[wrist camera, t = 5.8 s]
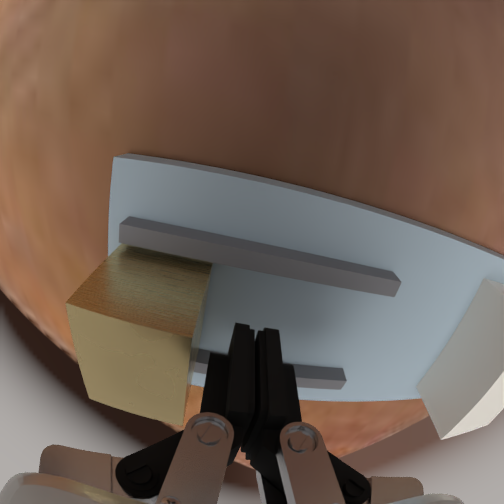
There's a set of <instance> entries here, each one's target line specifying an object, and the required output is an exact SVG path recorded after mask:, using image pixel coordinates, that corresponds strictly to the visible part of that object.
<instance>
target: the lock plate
mask: <svg viewBox="0 0 504 504" xmlns="http://www.w3.org/2000/svg"><path fill="white" fill-rule="evenodd" d="M122 243H123V244H128V245H132V246H137V247H141V248H146V249H151V250H155V251H160V252H164V253H169V254H174V255H178V256H183V257H188V258H192V259H197V260H202V261H207V262H212V263H213V266H212V271H211V277H210V282H209V288H208V294H207V300H206V306H205V312H204V318H203V324H202V331H201V337H200V344H199V349H198V354H197V358H196V363H195V368H194V372H193V377H192V382H191V384H192V385H196V386H201V387H204V384H205V378H206V373H207V367H208V361H209V355H210V352H212V353H217V354H223V355H228V350H229V346H230V342H231V338H232V334H233V329H234V325H235V322H236V323H242V324H248V325H250V329H254V330H255V339H256V335H257V332H258V330H261V331H263V329H264V328H265V327H266V328H272V329H278V330H279V333H280V342H281V351H282V360H283V364H292V365H293V366H294V370H295V376H296V383H297V390H298V397H299V399H300V400H317V401H388V400H405V399H417V398H421V396H420V394H419V392H418V390H417V388H416V386H417V384H418V383H419V382H420V381H421V379H422V378H423V377H424V375H425V374H426V373H427V371H428V370H429V369H430V367H431V366H432V365H433V363H434V362H435V360H436V359H437V357H438V356H439V355H440V353H441V352H442V350H443V349H444V347H445V346H446V344H447V343H448V341H449V339H450V338H451V336H452V335H453V333H454V332H455V330H456V328H457V327H458V325H459V323H460V322H461V320H462V318H463V316H464V315H465V313H466V311H467V309H468V308H469V306H470V304H471V302H472V300H473V298H474V296H475V294H476V293H477V291H478V289H479V287H480V285H481V282H482V280H483V278H486V279H489V280H492V281H495V282H499V283H502V284H504V255H501V254H499V253H497V252H495V251H492V250H490V249H488V248H485V247H483V246H481V245H478V244H476V243H473V242H471V241H468V240H466V239H464V238H461V237H458V236H456V235H453V234H451V233H448V232H446V231H443V230H440V229H438V228H435V227H432V226H429V225H427V224H424V223H421V222H418V221H415V220H412V219H410V218H407V217H404V216H401V215H398V214H395V213H392V212H389V211H385V210H382V209H379V208H376V207H373V206H370V205H366V204H363V203H360V202H356V201H353V200H350V199H346V198H343V197H339V196H336V195H332V194H328V193H325V192H321V191H317V190H314V189H310V188H306V187H302V186H298V185H294V184H290V183H286V182H282V181H278V180H273V179H269V178H265V177H260V176H256V175H251V174H247V173H242V172H237V171H232V170H227V169H222V168H217V167H212V166H207V165H201V164H196V163H190V162H184V161H178V160H172V159H165V158H159V157H152V156H145V155H137V154H130V153H127V154H123V155H119V156H115V157H114V158H113V167H112V177H111V189H110V203H109V225H108V256H109V255H110V254H111V253H112V252H113V251H114V250H115V249H116V248H117V247H118V246H119V245H121V244H122Z"/></svg>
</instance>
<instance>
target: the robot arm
mask: <svg viewBox="0 0 504 504" xmlns="http://www.w3.org/2000/svg"><path fill="white" fill-rule="evenodd" d="M240 446H241V452H246V460H250V465H251V466H252V467H253V468H254V469H256V476H257V482H258V487H259V492H260V498H261V503H262V504H464V503H463V502H462V501H461V500H460V499H459V498H457V497H455V496H451V495H447V494H428V495H424V492H423V486H422V484H421V482H420V481H419V480H418V479H416V478H412V477H376V476H372V477H371V478H365V477H364V476H363V475H362V474H360V473H359V472H357V471H356V470H354V469H353V468H351V467H350V466H348V465H347V464H345V463H344V462H342V461H341V460H339V459H338V458H337V457H335V456H334V455H332V454H331V453H330V452H328V451H327V449H326V446H325V443H324V441H323V438H322V436H321V434H320V432H319V431H318V430H317V429H316V428H315V427H314V426H312V425H310V424H308V423H305V422H302V419H301V412H300V405H299V397H298V390H297V383H296V376H295V370H294V366H293V365H292V364H283V360H282V351H281V342H280V333H279V330H278V329H272V328H266V327H265V328H264V329H263V331H261V330H258V332H257V335H256V339H255V330H254V329H250V325H248V324H242V323H236V322H235V325H234V329H233V334H232V338H231V342H230V346H229V350H228V355H223V354H217V353H212V352H210V355H209V361H208V367H207V373H206V378H205V384H204V391H203V397H202V403H201V409H200V413H199V414H196V415H194V416H193V417H192V418H190V419H189V421H188V422H187V424H186V427H185V429H184V430H182V431H180V432H178V433H177V434H175V435H172V436H170V437H168V438H166V439H164V440H162V441H160V442H158V443H156V444H154V445H151V446H149V447H147V448H145V449H142V450H140V451H138V452H136V453H133V454H131V455H129V456H126V457H125V458H120V457H112V456H111V455H110V454H103V453H97V452H90V451H85V450H79V449H74V448H70V447H66V446H61V445H51V446H47V447H46V448H45V449H44V450H43V452H42V454H41V458H40V466H39V473H19V474H17V475H15V476H13V477H12V478H11V479H10V480H9V481H8V482H7V483H6V485H5V486H4V488H3V490H2V491H1V493H0V504H217V501H218V497H219V493H220V489H221V485H222V482H223V478H224V474H225V470H226V467H227V466H229V465H230V464H232V463H233V461H234V459H235V457H236V455H237V452H238V450H239V448H240Z"/></svg>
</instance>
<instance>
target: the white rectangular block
mask: <svg viewBox="0 0 504 504" xmlns="http://www.w3.org/2000/svg"><path fill="white" fill-rule="evenodd" d="M416 388H417V390H418V392H419V394H420V396H421V398H422V400H423V402H424V404H425V406H426V408H427V411H428V413H429V415H430V417H431V419H432V422H433V424H434V426H435V428H436V431H437V433H438V435H439V438H440V440H442V439H446V438H449V437H453V436H456V435H459V434H463V433H466V432H469V431H472V430H475V429H478V428H480V427H483V426H486V425H488V424H489V423H490V422H491V421H492V420H493V419H494V418H495V417H496V416H497V415H498V414H499V412H501V410H502V409H503V408H504V284H502V283H499V282H495V281H492V280H489V279H486V278H483V280H482V282H481V285H480V287H479V289H478V291H477V293H476V294H475V296H474V298H473V300H472V302H471V304H470V306H469V308H468V309H467V311H466V313H465V315H464V316H463V318H462V320H461V322H460V323H459V325H458V327H457V328H456V330H455V332H454V333H453V335H452V336H451V338H450V339H449V341H448V343H447V344H446V346H445V347H444V349H443V350H442V352H441V353H440V355H439V356H438V357H437V359H436V360H435V362H434V363H433V365H432V366H431V367H430V369H429V370H428V371H427V373H426V374H425V375H424V377H423V378H422V379H421V381H420V382H419V383H418V384H417V386H416Z"/></svg>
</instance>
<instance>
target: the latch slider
mask: <svg viewBox="0 0 504 504" xmlns="http://www.w3.org/2000/svg"><path fill="white" fill-rule="evenodd" d="M212 266H213V263H212V262H207V261H202V260H197V259H192V258H188V257H183V256H178V255H174V254H169V253H164V252H160V251H155V250H151V249H146V248H141V247H137V246H132V245H128V244H123V243H122V244H121V245H119V246H118V247H117V248H116V249H115V250H114V251H113V252H112V253H111V254H110V255H109V256H108V257H107V258H106V260H105V261H104V262H103V263H102V264H101V265H100V266H99V267H98V268H97V269H96V270H95V271H94V272H93V273H92V274H91V275H90V276H89V277H88V278H87V279H86V280H85V282H84V283H83V284H82V285H81V286H80V287H79V288H78V289H77V290H76V291H75V292H74V294H73V295H72V296H71V297H70V298H69V299H68V300H67V302H66V309H67V314H68V319H69V324H70V329H71V334H72V338H73V343H74V347H75V351H76V355H77V359H78V362H79V366H80V369H81V373H82V376H83V379H84V383H85V386H86V389H87V392H88V395H89V398H90V399H92V400H95V401H98V402H100V403H103V404H106V405H109V406H112V407H115V408H118V409H121V410H124V411H128V412H131V413H134V414H137V415H141V416H144V417H148V418H152V419H156V420H160V421H164V422H168V423H172V424H176V425H181V426H183V422H184V417H185V411H186V406H187V401H188V397H189V392H190V387H191V382H192V377H193V372H194V368H195V363H196V358H197V354H198V349H199V344H200V337H201V331H202V324H203V318H204V312H205V306H206V300H207V294H208V288H209V282H210V277H211V271H212Z"/></svg>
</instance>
